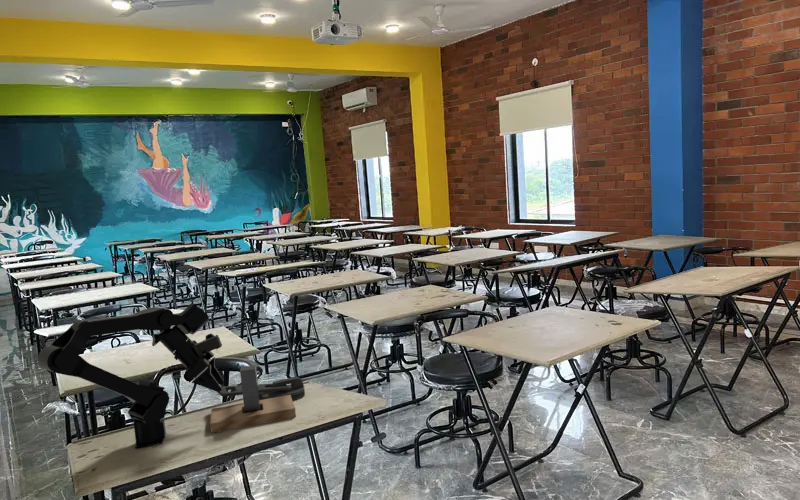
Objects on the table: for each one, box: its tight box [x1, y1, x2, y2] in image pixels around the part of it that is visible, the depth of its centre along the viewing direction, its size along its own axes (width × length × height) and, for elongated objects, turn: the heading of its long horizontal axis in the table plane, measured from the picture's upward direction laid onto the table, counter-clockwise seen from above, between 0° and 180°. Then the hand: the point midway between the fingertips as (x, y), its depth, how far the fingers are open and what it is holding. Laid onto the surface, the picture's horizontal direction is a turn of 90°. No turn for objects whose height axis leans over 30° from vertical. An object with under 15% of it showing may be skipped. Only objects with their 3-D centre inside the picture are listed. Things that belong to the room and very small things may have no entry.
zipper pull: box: [217, 376, 306, 401], centre depth 168 cm, size 9×7×25 cm
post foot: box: [209, 395, 297, 434], centre depth 156 cm, size 22×12×2 cm, turn 107°
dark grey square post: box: [239, 364, 261, 413], centre depth 156 cm, size 4×4×14 cm
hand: (221, 387), depth 153 cm, fingers open, 9 cm apart
